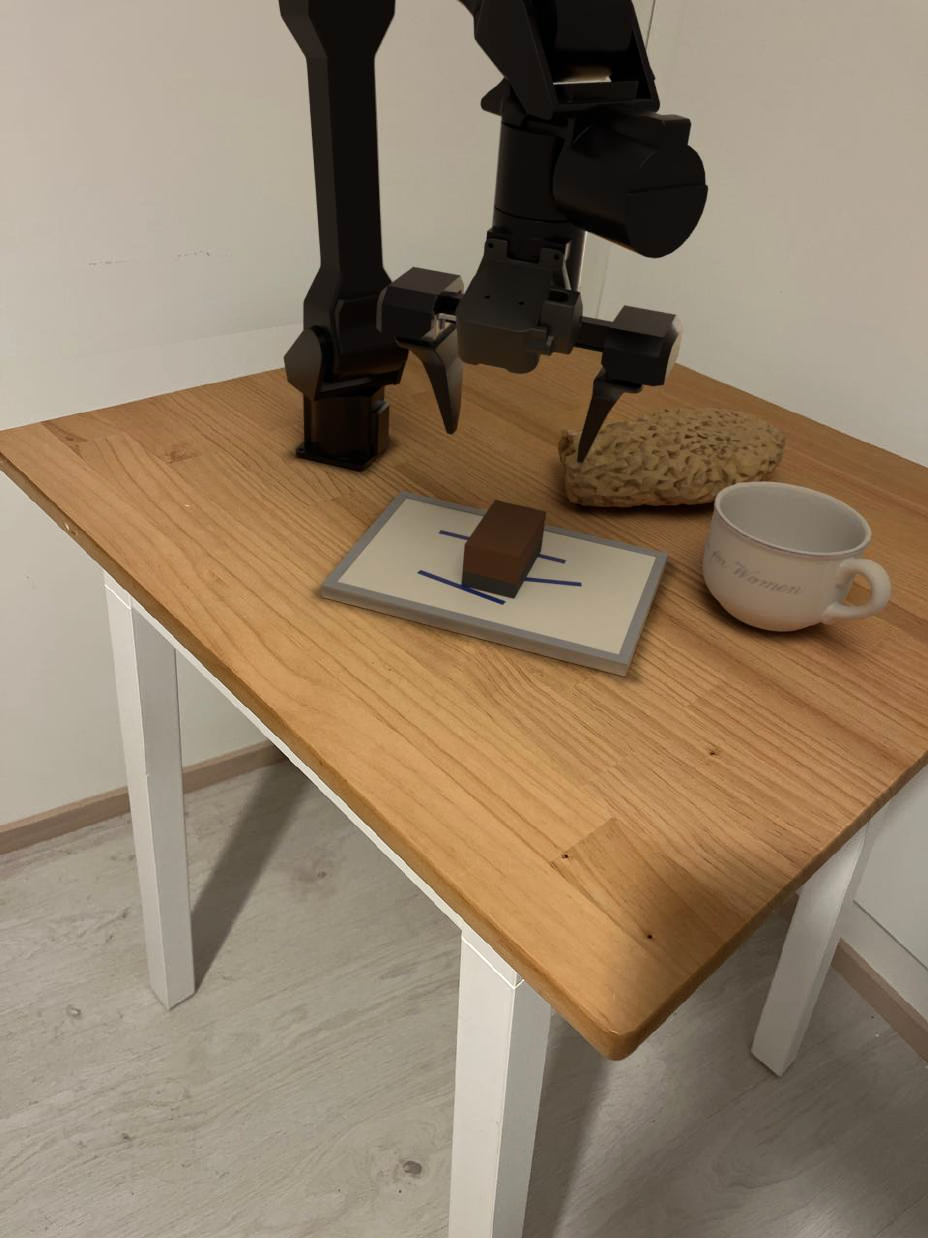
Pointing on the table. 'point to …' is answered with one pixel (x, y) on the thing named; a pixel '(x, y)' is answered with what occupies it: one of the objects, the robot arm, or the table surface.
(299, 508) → the table surface
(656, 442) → the sponge
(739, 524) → the teacup
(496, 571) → the eraser
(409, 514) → the whiteboard
